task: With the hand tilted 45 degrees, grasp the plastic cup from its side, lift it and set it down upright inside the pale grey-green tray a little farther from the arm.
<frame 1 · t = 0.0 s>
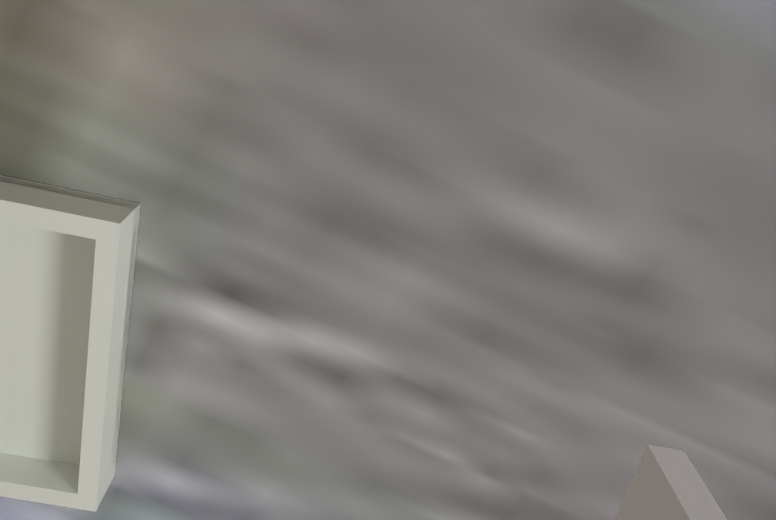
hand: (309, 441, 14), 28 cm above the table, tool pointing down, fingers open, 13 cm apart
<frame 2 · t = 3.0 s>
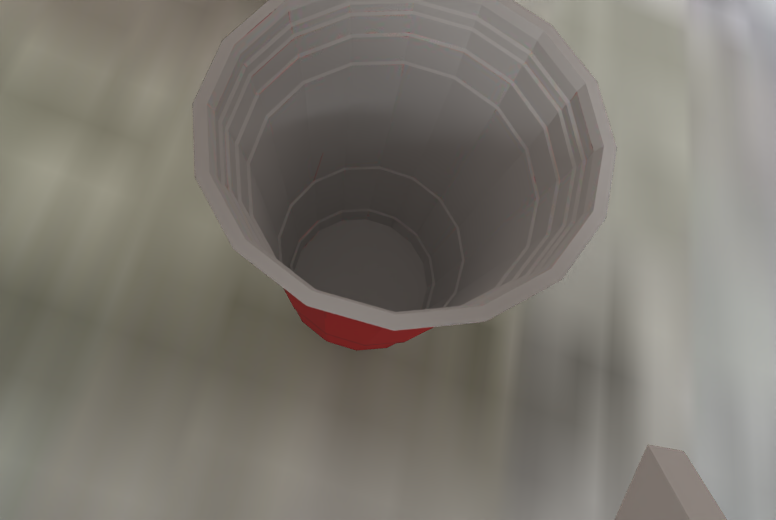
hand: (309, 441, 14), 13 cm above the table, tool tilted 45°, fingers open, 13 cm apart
plastic cup: (355, 280, 29), on the table
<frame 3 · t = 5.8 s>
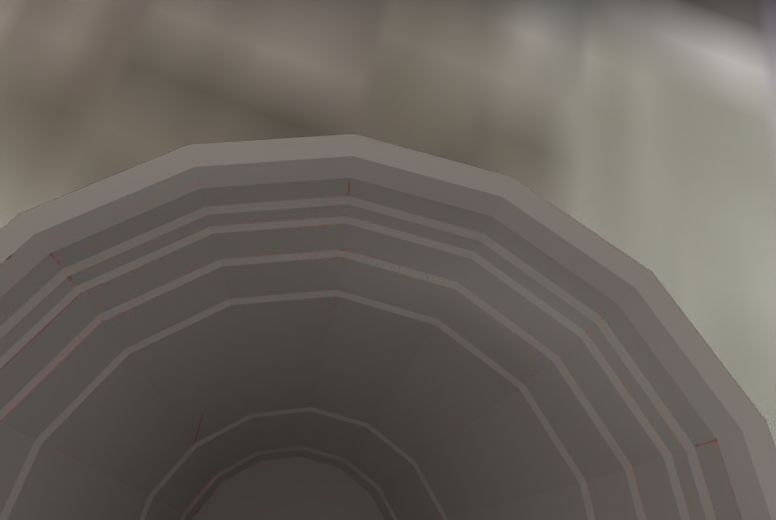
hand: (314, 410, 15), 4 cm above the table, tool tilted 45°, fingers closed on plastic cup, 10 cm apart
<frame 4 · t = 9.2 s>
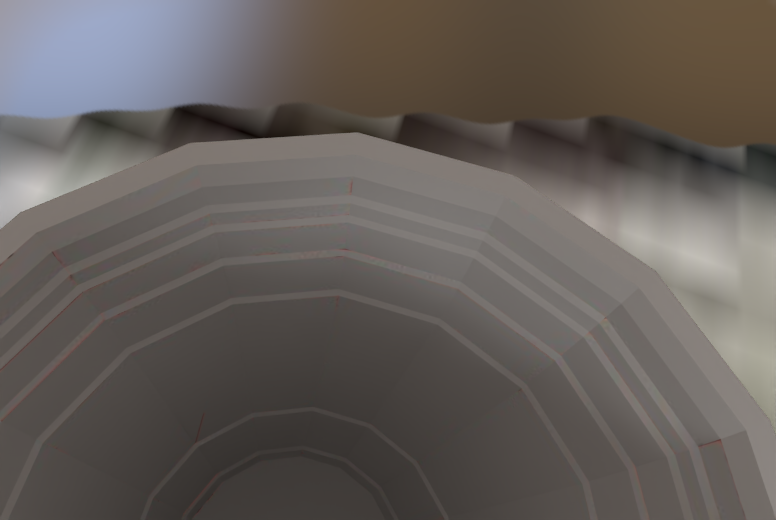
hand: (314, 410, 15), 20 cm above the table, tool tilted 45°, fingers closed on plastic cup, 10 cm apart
when the fingers open (7 cm above the table, at t = 12.9 s): plastic cup moves 4 cm, resting on tray.
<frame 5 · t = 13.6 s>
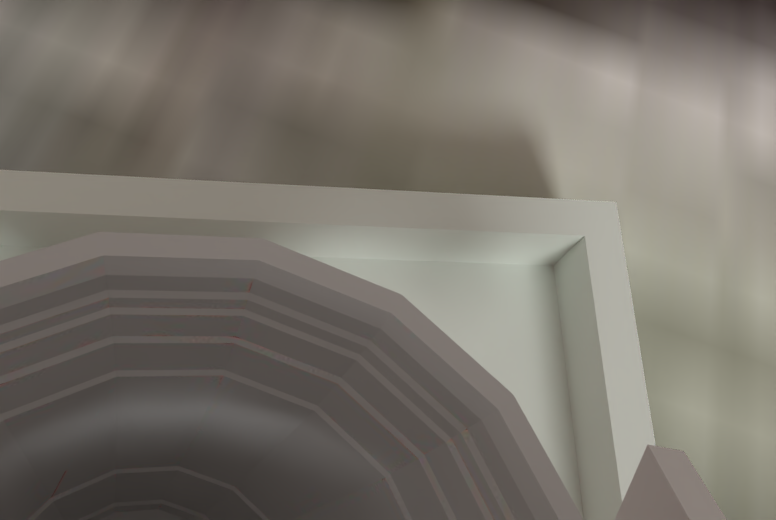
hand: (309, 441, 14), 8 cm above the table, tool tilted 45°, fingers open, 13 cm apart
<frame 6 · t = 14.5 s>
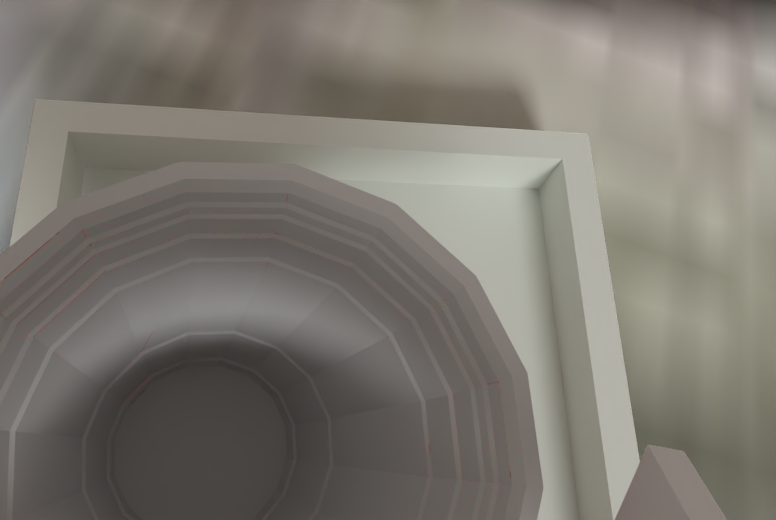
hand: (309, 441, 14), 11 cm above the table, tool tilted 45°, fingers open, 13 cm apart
plastic cup: (196, 446, 23), point 1 cm above the table, touching tray
tray: (321, 411, 25), on the table
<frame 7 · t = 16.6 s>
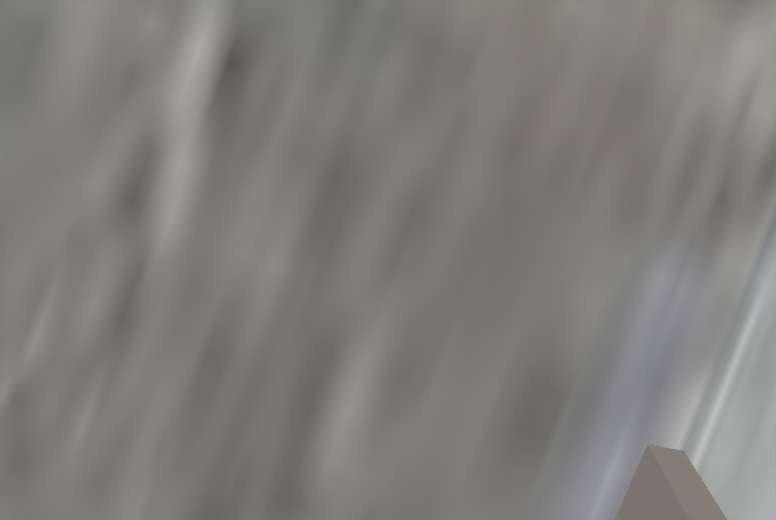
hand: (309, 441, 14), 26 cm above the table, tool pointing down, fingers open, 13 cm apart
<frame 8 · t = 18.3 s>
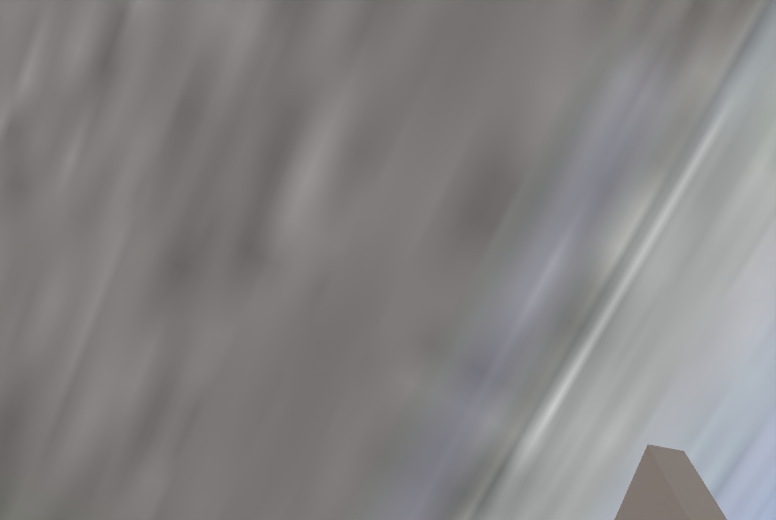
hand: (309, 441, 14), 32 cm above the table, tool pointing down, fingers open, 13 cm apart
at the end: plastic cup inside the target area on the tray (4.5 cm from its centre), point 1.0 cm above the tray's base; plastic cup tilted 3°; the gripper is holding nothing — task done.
